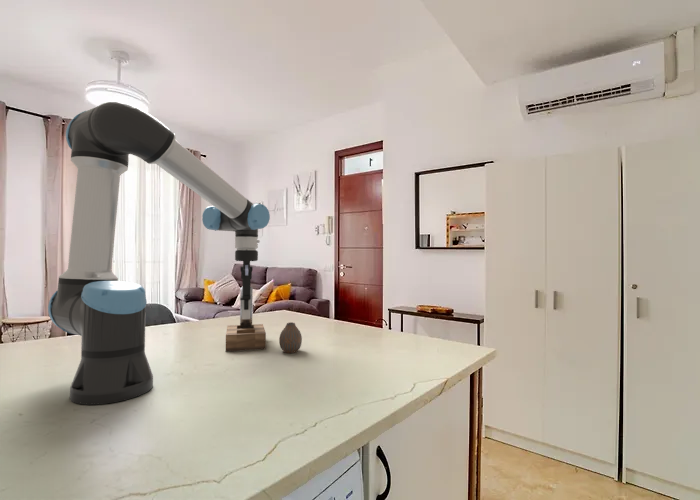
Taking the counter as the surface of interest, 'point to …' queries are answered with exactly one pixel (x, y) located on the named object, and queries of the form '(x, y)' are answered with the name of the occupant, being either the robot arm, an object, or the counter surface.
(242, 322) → the steel pin
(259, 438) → the counter surface
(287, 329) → the vase
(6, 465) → the counter surface
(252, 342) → the bore block
